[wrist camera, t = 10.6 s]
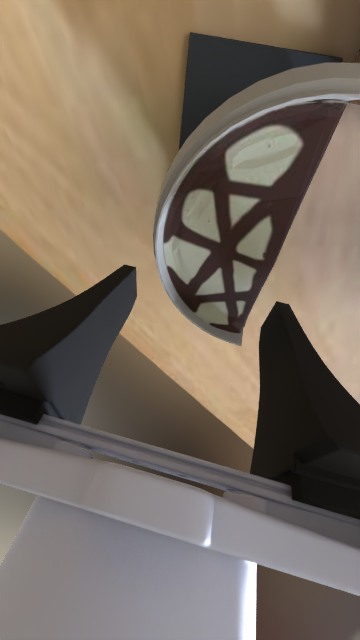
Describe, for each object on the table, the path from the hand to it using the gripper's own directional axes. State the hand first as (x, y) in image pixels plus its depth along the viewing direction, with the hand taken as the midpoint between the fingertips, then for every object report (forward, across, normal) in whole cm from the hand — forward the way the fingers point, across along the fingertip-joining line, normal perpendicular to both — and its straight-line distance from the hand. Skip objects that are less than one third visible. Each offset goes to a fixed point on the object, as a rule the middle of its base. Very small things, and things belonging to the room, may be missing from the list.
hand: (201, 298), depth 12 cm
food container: (+10, 0, -2) cm, 11 cm away
